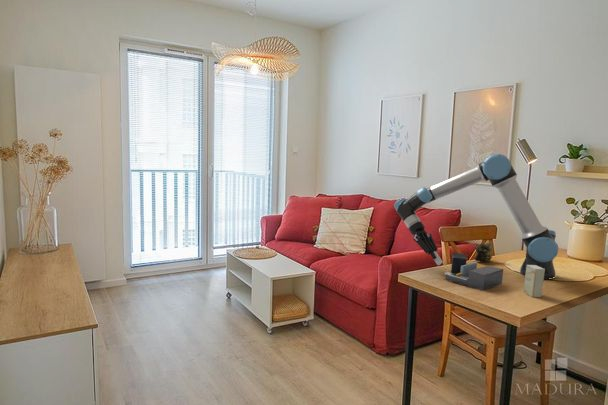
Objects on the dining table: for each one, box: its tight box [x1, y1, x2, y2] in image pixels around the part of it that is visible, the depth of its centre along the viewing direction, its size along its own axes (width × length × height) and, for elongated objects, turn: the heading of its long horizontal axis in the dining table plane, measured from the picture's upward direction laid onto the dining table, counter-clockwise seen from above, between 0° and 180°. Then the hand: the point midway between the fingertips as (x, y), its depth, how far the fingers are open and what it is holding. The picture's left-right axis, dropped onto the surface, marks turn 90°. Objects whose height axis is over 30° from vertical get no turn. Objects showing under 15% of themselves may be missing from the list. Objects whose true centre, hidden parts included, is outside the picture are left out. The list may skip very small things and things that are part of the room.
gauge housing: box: [444, 265, 504, 291], centre depth 186 cm, size 18×18×7 cm
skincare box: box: [522, 265, 545, 298], centre depth 171 cm, size 6×4×12 cm
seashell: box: [474, 242, 493, 263], centre depth 225 cm, size 11×11×10 cm
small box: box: [450, 252, 467, 274], centre depth 193 cm, size 11×6×10 cm, turn 160°
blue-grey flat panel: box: [456, 261, 478, 278], centre depth 187 cm, size 1×16×7 cm, turn 128°
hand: (440, 263), depth 200 cm, fingers closed
